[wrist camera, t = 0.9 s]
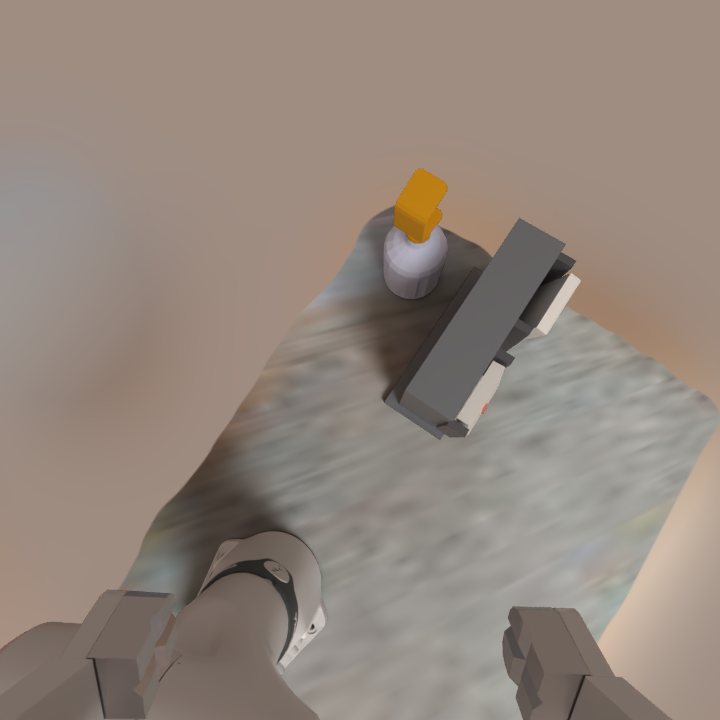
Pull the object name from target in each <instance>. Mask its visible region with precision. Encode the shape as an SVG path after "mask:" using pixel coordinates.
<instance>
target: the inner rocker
mask: <svg viewBox="0 0 720 720" xmlns="http://www.w3.org/2000/svg"><path fill="white" fill-rule="evenodd" d="M504 369H505V367H504V366H502V365H500V364H499V363H497V362H495V361H493V362H492V363H491V365H490V366H489V368H488V370H487V371H486V373H485V374H484V376H483V377H482V379H481V381H480V382H479V384H478V385H477V387H476V388H475V390H474V392H473V393H472V395H471V396H470V398H469V399H468V401H467V402H466V404H465V406H464V407H463V409H462V410H461V412H460V413H459V415H458V417H457V422H459V423H460V424H462V425H463V426H465V427H466V428H468V429H469V431H468V433H467V434H466V435H467V436H468V434H469V433H470V431H471V429H472V428H473V426H474V425H475V423H476V422H477V420H478V418H479V417H480V415H481V414H483V413H484V411H485V410H486V408H487V405H488V403H489V401H490V399H491V398H492V396H493V395H494V393H495V391H496V390H497V388H498V387H499V384H500V381H501V378H502V375H503V372H504Z"/></svg>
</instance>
